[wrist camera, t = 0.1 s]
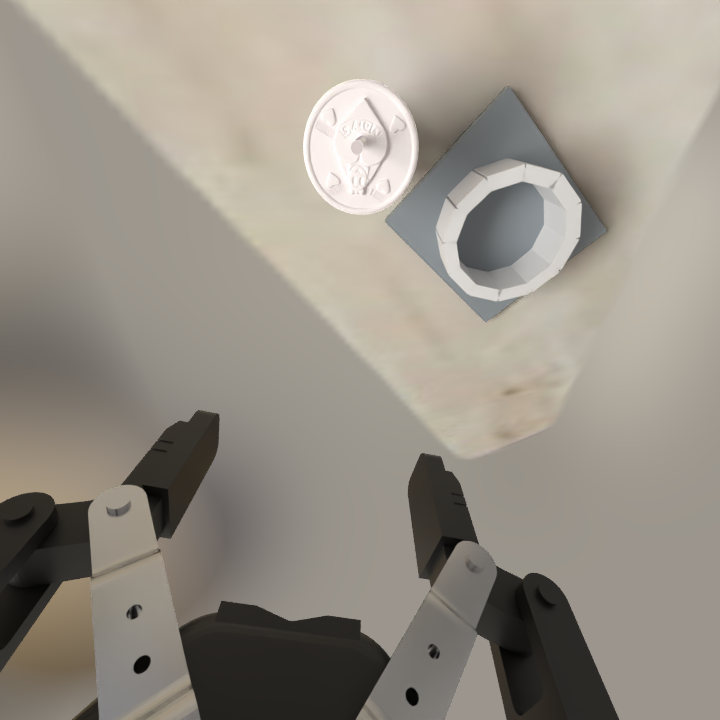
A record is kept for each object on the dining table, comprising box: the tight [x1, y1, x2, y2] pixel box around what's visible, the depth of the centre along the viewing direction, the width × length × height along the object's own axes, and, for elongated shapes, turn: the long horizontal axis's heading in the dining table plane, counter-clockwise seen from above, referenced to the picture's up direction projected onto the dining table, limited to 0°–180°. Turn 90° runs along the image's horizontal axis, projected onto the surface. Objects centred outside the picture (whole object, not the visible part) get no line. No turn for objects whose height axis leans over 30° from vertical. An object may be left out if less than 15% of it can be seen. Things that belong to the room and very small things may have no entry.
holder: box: [385, 86, 607, 322], centre depth 27 cm, size 12×14×5 cm
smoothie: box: [303, 79, 419, 215], centre depth 20 cm, size 6×6×14 cm
